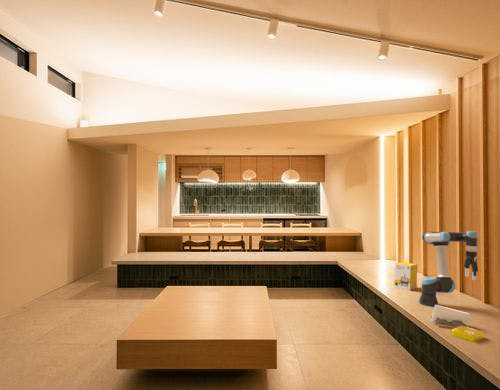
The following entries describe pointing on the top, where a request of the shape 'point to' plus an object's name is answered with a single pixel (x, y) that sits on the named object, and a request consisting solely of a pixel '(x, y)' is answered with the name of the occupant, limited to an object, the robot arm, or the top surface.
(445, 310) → the shelf bracket
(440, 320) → the hinge board
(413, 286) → the packaging box
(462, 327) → the element tile
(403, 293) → the top surface
